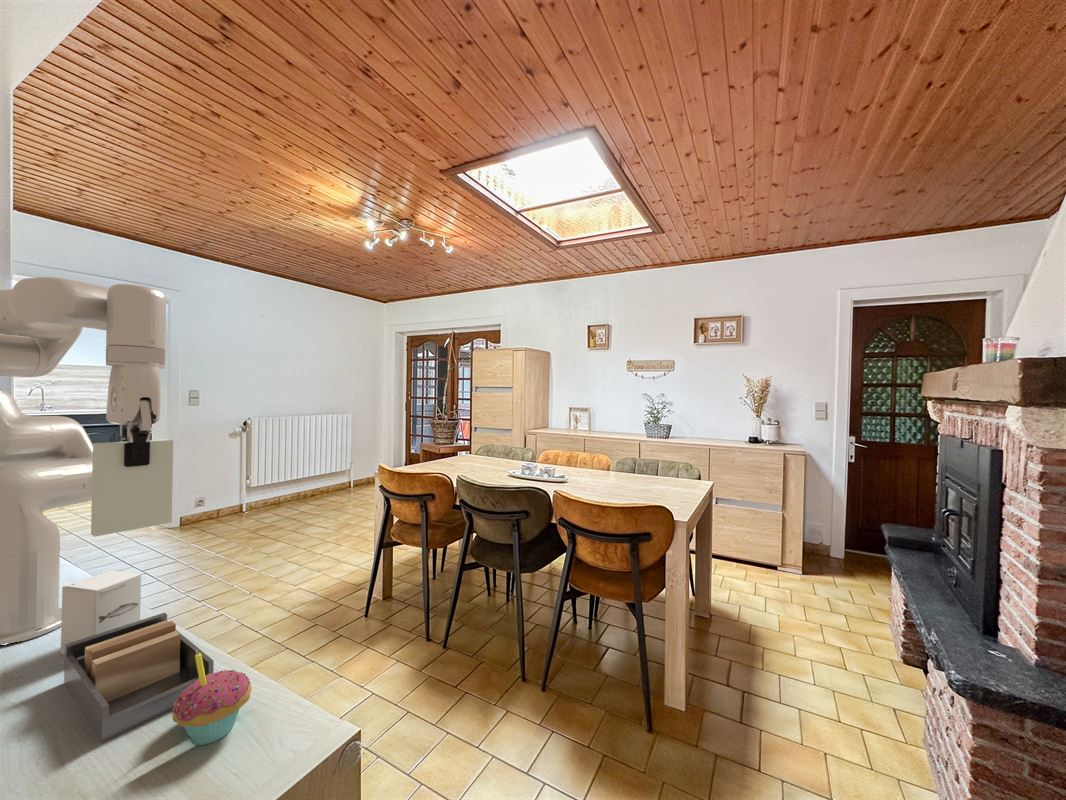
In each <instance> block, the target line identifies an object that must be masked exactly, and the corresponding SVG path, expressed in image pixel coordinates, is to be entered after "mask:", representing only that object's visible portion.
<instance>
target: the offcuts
mask: <svg viewBox="0 0 1066 800" xmlns="http://www.w3.org/2000/svg"><path fill="white" fill-rule="evenodd" d="M176 626H177V624H176V623H175V622H174V621H172V620H168V619H167V620H166V621H163V622H160V623H157V624H154V625H151V626H148V627H145V628H142V629H139V630H136V631H133V632H130V633H127V634H124V635H121V636H118V637H115V638H112V639H109V640H106V641H103V642H100V643H97V644H94V645H91V646H88V647H85V673H86V674H87V676H88V677H89V678H90V680H91V681H92V682H93V684H94V685H95V687H96V688H97V689H98V691H99V692H100V693H101V695H102V696H103V698H104V699H105V700H106V702H109V701H112V700H114V699H116V698H119V697H121V696H124V695H126V694H128V693H131V692H133V691H135V690H138V689H140V688H143V687H145V686H147V685H150V684H152V683H154V682H157V681H159V680H161V679H164V678H166V677H169V676H171V675H173V674H176V673H178V672H180V632H179V631H178V630H177V628H176ZM176 630H177V631H178V632H179V633H178V632H177V631H176Z"/></svg>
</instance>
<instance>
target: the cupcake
mask: <svg viewBox="0 0 1066 800" xmlns="http://www.w3.org/2000/svg"><path fill="white" fill-rule="evenodd" d="M195 651H196V654H197V655H195V659H196V664H197V670H198V675H199V679H198V680H196V681H194V682H193V683H191V684H190V685H188V686H189V687H187V688H186V689H185V690H184V691H182V692H181V694H180V696H179V697H178V698H177V700H176V701H175V703H174V705H173V706H174V707H173V709H172V721H173V722H174V723H176V724H178V725H179V726H180V727H183V728H184V729H185V732H186V734H187V736H189V738H188V739H189V742H191V744H193V745H195V746H203V745H208V744H212V743H215V742H217V741H218V740H220V739H222V738H223V737H225V736H227V735H228V734H229V733H230V732H231V731H232V729H233V728H234V725H235V721H236V720H237V716H238V713H239V712H240V709H241V708H242V707H243V706H245V704H246V703H247V702H248V701H249V700H250V698H251V693H252V683H251V682H250V678H249V677H248V676H247V675H246V673H245V672H244V673H243V672H242V671H240V672H239V671H236V670H235V669H231V670H228V669H223V670H220V671H216V672H213V673H211V674H207V675H206V676H205V672H204V666H203V661H202V655H201V653H199V654H198V651H197V650H195Z"/></svg>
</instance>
